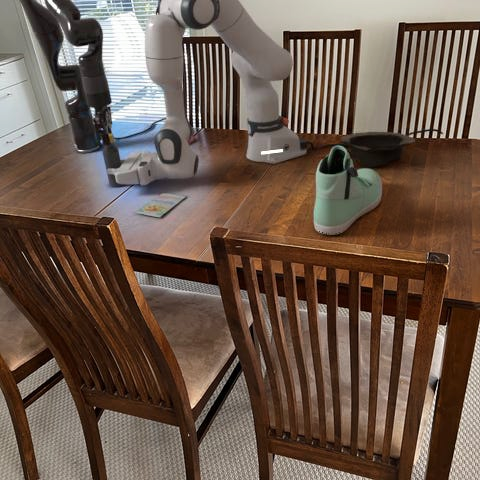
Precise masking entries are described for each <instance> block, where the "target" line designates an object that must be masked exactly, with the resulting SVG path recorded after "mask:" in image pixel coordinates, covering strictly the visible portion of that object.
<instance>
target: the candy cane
mask: <svg viewBox="0 0 480 480" xmlns="http://www.w3.org/2000/svg"><path fill="white" fill-rule="evenodd" d="M194 141H195V137H194V136H193V135H192V136H191V138H190V140H189V141H188V144H189V145H190V144H191V143H193V142H194Z"/></svg>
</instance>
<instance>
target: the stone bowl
mask: <svg viewBox="0 0 480 480" xmlns="http://www.w3.org/2000/svg"><path fill="white" fill-rule="evenodd" d="M340 139H341V140H340V143H339V144H346V145H349V146H350V147H349V152H350V154H351V155H352V157H353V158H354V159H356V160H358V162H359V166H361V167H364V168H367V167H368V168H377V167H386V166H388V165H389V164H390V162H398V161H400V160H401V157H402V153H403V148H404V147H408V146H410V145H412V144H414V143H415V142H416V139H415V138H413V137H411V136H410V135H409V136H407V135H406V134H403V133H399V132H392V131H364V132H355V133H350V134H346V135H343V136H342V137H341V138H340Z"/></svg>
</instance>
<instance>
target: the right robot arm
mask: <svg viewBox="0 0 480 480" xmlns="http://www.w3.org/2000/svg"><path fill="white" fill-rule="evenodd" d="M210 26H211V27H212V28H213V30H214V31H215V32H216V34H217V35H218V36H219V37H220V38H221V40H222V41H223V42H224V44H225V45H226V46H227V47H228V49H230V50H231V51H232V53H231V57H230V58H231V65H232V67H233V68H234V70H235V71H236V72H237V75H238V76H239V78H240V81H241V84H242V86H243V89H244V93H245V97H246V105H247V119H246V122H247V123H246V128H247V129H246V131H247V134H248V142H247V150H246V154H245V157H246V158H247V159H248V160H250V161H253V162H256V163H257V162H258V163H267V164H272V165H273V164H278V163H282V162H285V161H287V160H292V159H295V158H298V157H302V156H304V155H307V153H308V152H307V151H308V150H307V148H308V145H310V148H311V149H312V150H320V149H324V148H328V147H334V146H342V147H349V148H350V146H349V145H346V144H343V143H328V144H325V145H322V146H320V147H314V143H313V142H312V141H307V140H306V139H305V137H299V136H298V134H297V133H296V132H294V131H293V130H291V129H290V128H289V127H288V126H287V125H289V122H290V120H289V119H288V118H287V117H284V116H281V115H280V104H279V103H280V102H279V94H278V92H277V90H276V89H275V88H274V86H273V85H272V84H273V83H272V82H279V81H284V80H285V79H287V78H288V77H289V76H290V75H291V72H292V70H293V66H294V60H293V56H292V54H291V53H290V52H289V51H288V50H287V49H286V48H283V47H282V46H281V45H279V44H278V43H277V42H276V41H274V40H273V39H272V37H270V36H269V35H268V34H267V33H266V32H265V31H264V30H262V28H261V27H260V26H259V25H258V24H257V23H256V22H255V21H254V20H253V18H252V16H251V15H250V14H249V12H248V11H247V9H246V8H245V7H244V6H243V4H242V3H241V1H240V0H157V7H156V9H155V15H152V16H151V17H149V18H148V19H147V21H146V22H145V29H144V54H145V65H146V71H147V74H148V77H149V80H150V81H151V82H152V83H153V84H155V85H156V86H158V87H160V89H161V90H162V92H163V93H162V94H163V99H164V105H165V106H164V108H165V118H166V119H165V120H164V123H163V125H162V126H161V127H160V128H159V129H158V131H157V132H156V134H155V136H154V139H153V141H154V142H153V144H154V148H155V151H156V152H150V151H147V150H146V151H145V150H144V151H143V150H134V151H132V152H131V153H130V154H129V155H128V156H127V157H124V158H120V160H121V166H120V168H117V169H113V168H108V169H107V171H106V174H107V173H108V174H113V175H115V178H116V182H117V183H119V184H124V185H139V184H140V186H147V185H149V184H150V183H151V182H154V181H156V180H164V179H171V180H180V179H181V180H183V179H190V178H193V177H194V176H196V174H197V172H198V167H199V164H200V163H199V162H200V160H199V154H197V153H196V152H195V151H194V150H193V148H192V147H191V146H190V143H189V144H188V141H189V140H190V138H191V136H193V128H192V125H191V122H190V121H189V118H188V117H187V114H186V106H185V95H184V87H183V86H184V84H183V82H184V49H183V38H184V34H185V32H186V30H187V29H191V30H195V31H196V30H197V31H200V30H204V29H206V28H208V27H210ZM428 132H436V133H439V134H440V135H444V133H443V131H441V130H440V129H437V128H428V129H422V130H416V131H412V132H409V133H406V134H405V135H407V136H409V137H410V136H411V135H415V134H421V133H428Z"/></svg>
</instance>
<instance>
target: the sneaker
mask: <svg viewBox="0 0 480 480" xmlns="http://www.w3.org/2000/svg"><path fill="white" fill-rule="evenodd" d="M317 165H318V166H317V168H316V172H315V201H314V207H313V225H314V229H315V231H316V232H318V233H320V234H323V235H326V236H327V235H328V236H336V235H339V234H342V233H344V232H345V231H347V230H348V229H349V228H350V227H351V226H352V225H353V224H354V222H356V221H357V220H358V219H359V218H360V217H362V216H363V215H365V214H367V213H370V212H372V210H374V209H375V208H377V207H378V205H380V203H381V200H382V196H383V184H382V183H383V182H382V179H381V176H380V175H379V173H378V172H377V171H376V170H374V169H372V168H369V167H368V168H367V167H364V168H358V169H357V168H355V167H354V161H353V159H352V158H351V156H350V153H349V152H348V150H347V148H345V146H332V147H331V149H330V151H329V154H327V155H326V156H325V157H324V158H322V159H321V160H320V161H319V163H318V164H317ZM343 230H344V231H343ZM319 231H320V232H319ZM322 232H323V233H322ZM339 232H340V233H339ZM326 233H327V234H326ZM328 233H329V234H328ZM335 233H337V234H335Z"/></svg>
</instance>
